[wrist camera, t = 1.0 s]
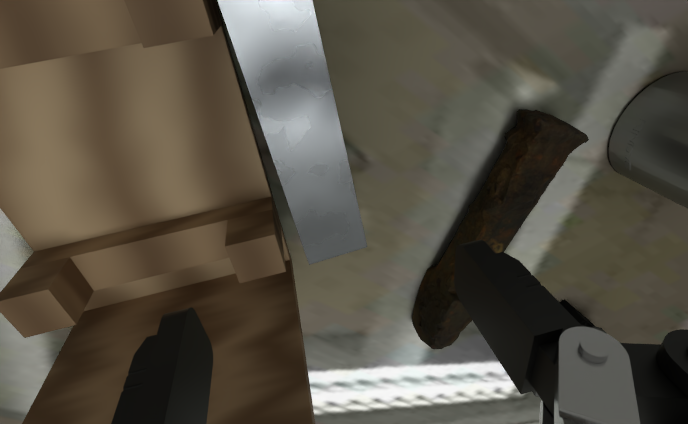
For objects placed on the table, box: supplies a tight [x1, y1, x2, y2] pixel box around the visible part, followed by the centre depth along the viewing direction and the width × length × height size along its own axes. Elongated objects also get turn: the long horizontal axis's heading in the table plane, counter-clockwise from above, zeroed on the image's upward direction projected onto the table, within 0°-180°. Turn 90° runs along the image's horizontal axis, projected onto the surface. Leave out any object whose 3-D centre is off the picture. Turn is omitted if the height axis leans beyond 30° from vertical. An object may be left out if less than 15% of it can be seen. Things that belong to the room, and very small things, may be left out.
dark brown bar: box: [412, 109, 589, 349], centre depth 31 cm, size 23×5×6 cm, turn 157°
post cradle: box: [0, 0, 315, 424], centre depth 17 cm, size 16×24×16 cm
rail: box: [218, 0, 367, 264], centre depth 22 cm, size 4×17×6 cm, turn 12°
